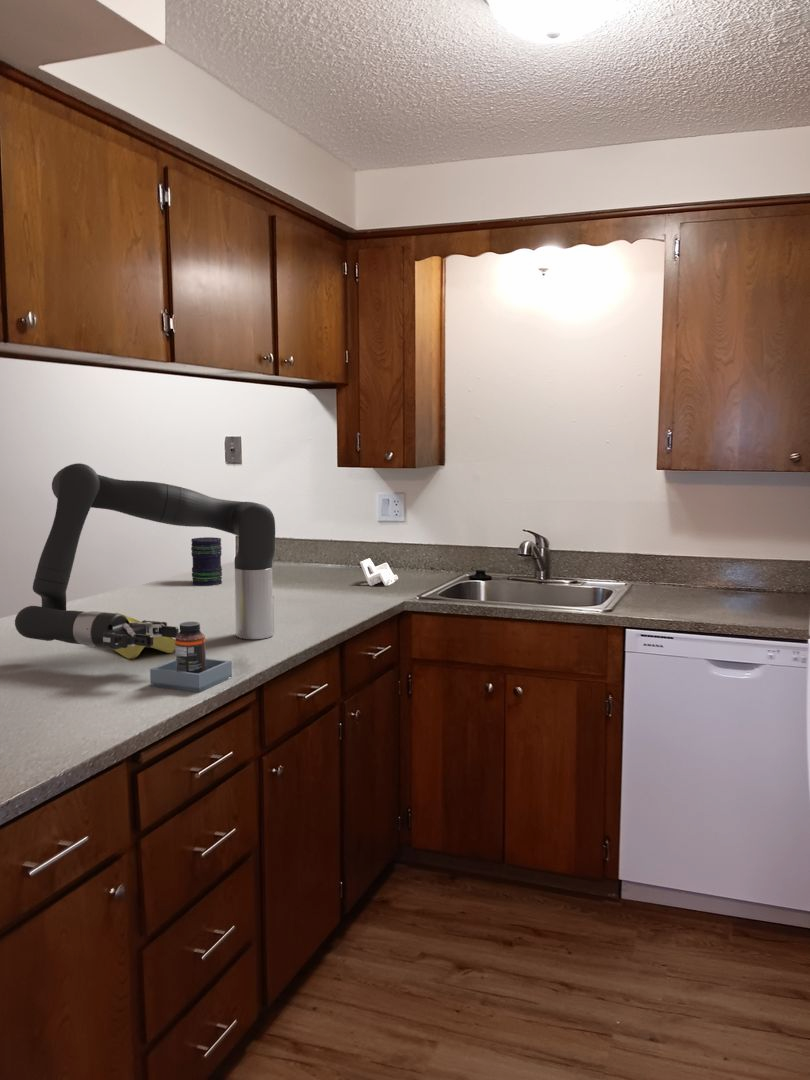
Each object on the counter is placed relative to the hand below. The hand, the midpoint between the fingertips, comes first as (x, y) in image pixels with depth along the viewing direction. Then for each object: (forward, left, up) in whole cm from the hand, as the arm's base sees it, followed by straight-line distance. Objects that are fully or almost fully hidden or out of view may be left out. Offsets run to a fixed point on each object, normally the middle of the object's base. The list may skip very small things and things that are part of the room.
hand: (165, 636), depth 187 cm
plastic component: (-19, -21, -9) cm, 30 cm away
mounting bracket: (-125, -6, -9) cm, 125 cm away
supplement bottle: (0, +6, -8) cm, 10 cm away
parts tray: (0, +6, -9) cm, 11 cm away
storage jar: (-102, -59, -9) cm, 118 cm away
